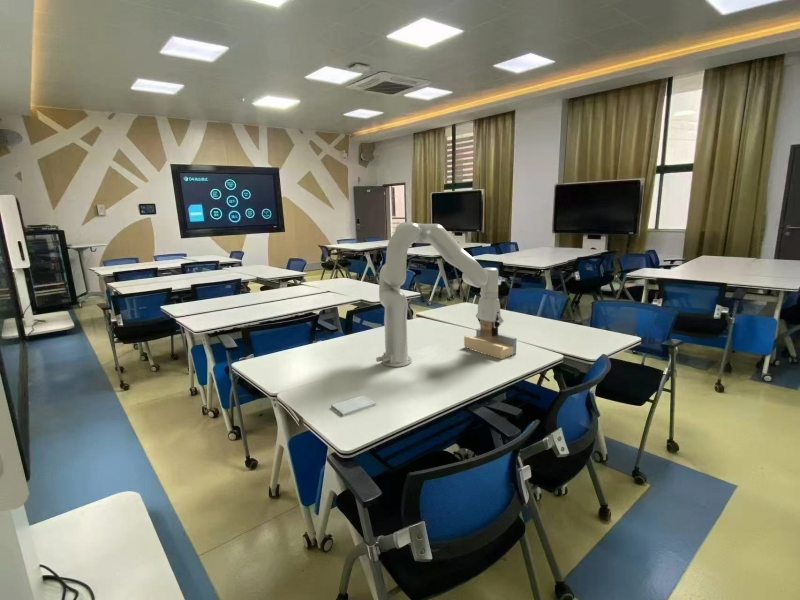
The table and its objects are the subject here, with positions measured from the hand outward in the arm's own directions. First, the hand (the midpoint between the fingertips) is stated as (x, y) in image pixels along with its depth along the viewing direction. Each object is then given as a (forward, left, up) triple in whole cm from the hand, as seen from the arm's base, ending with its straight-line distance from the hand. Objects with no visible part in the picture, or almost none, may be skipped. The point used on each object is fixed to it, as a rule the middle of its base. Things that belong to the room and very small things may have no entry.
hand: (489, 333), depth 185 cm
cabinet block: (0, 0, -2) cm, 2 cm away
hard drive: (-77, -9, -9) cm, 78 cm away
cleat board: (0, 0, -8) cm, 8 cm away
